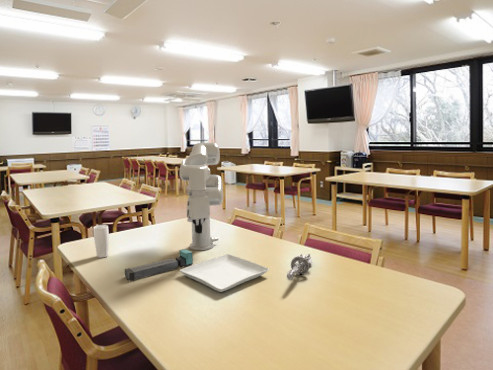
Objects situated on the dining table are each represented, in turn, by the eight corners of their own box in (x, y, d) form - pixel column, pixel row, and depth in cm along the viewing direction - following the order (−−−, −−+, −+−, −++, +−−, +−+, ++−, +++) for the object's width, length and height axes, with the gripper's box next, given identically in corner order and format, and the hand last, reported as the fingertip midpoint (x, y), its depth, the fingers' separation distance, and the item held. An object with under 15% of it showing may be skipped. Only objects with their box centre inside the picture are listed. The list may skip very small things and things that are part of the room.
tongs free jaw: (172, 264, 158) (171, 257, 158) (175, 266, 156) (174, 259, 156) (124, 276, 145) (124, 269, 145) (127, 278, 143) (126, 271, 142)
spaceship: (274, 269, 131) (294, 264, 128) (298, 250, 163) (314, 246, 160) (281, 290, 130) (301, 285, 127) (304, 267, 163) (320, 262, 160)
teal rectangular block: (185, 259, 163) (185, 248, 162) (192, 263, 157) (192, 252, 157) (179, 260, 161) (179, 250, 160) (186, 264, 156) (186, 253, 155)
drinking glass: (104, 259, 166) (102, 228, 164) (92, 258, 168) (89, 228, 166) (112, 254, 173) (111, 225, 171) (100, 253, 174) (98, 224, 172)
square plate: (227, 260, 164) (227, 252, 164) (270, 277, 145) (270, 268, 144) (178, 277, 146) (178, 268, 145) (220, 298, 126) (220, 288, 126)
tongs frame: (187, 261, 163) (187, 254, 162) (193, 264, 158) (193, 257, 158) (125, 277, 145) (124, 269, 145) (129, 281, 141) (129, 273, 140)
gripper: (186, 196, 151) (188, 237, 154) (215, 193, 160) (216, 231, 163) (178, 194, 157) (180, 234, 160) (207, 191, 166) (208, 228, 169)
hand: (198, 232), depth 161 cm, fingers closed
